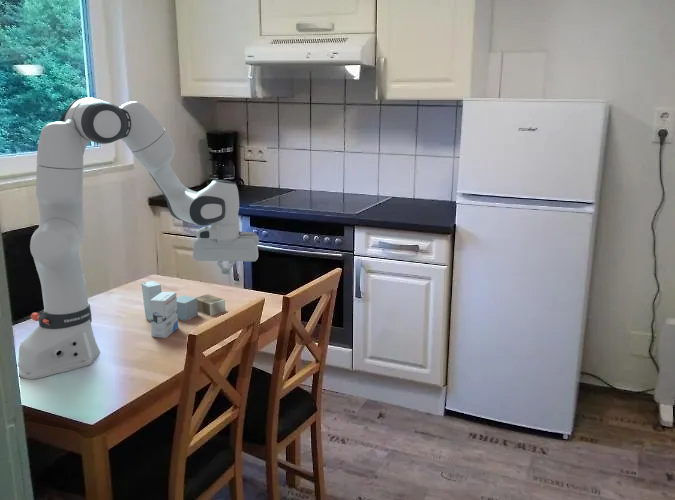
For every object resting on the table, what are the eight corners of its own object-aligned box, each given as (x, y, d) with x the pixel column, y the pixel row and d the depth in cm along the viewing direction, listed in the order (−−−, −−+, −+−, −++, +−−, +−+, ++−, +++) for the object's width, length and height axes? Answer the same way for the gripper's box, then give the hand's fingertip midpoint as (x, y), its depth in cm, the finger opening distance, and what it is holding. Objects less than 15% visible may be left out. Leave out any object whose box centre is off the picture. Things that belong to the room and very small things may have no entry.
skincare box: (165, 320, 201) (162, 284, 198) (152, 323, 199) (148, 287, 196) (157, 315, 206) (154, 279, 203) (144, 318, 203) (141, 282, 200)
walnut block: (210, 304, 205) (193, 298, 210) (211, 315, 206) (194, 309, 211) (224, 299, 209) (207, 294, 215) (225, 311, 210) (208, 305, 216)
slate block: (186, 321, 201) (184, 303, 200) (171, 318, 204) (170, 300, 202) (197, 315, 206) (196, 297, 205) (183, 312, 209) (182, 295, 207)
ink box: (164, 326, 196) (161, 290, 193) (179, 327, 195) (177, 291, 192) (151, 337, 188) (148, 299, 185) (167, 338, 187) (164, 301, 184)
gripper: (259, 229, 200) (260, 271, 204) (195, 228, 200) (196, 270, 203) (257, 234, 194) (258, 277, 197) (190, 233, 194) (192, 276, 197)
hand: (226, 273), depth 200 cm, fingers closed
